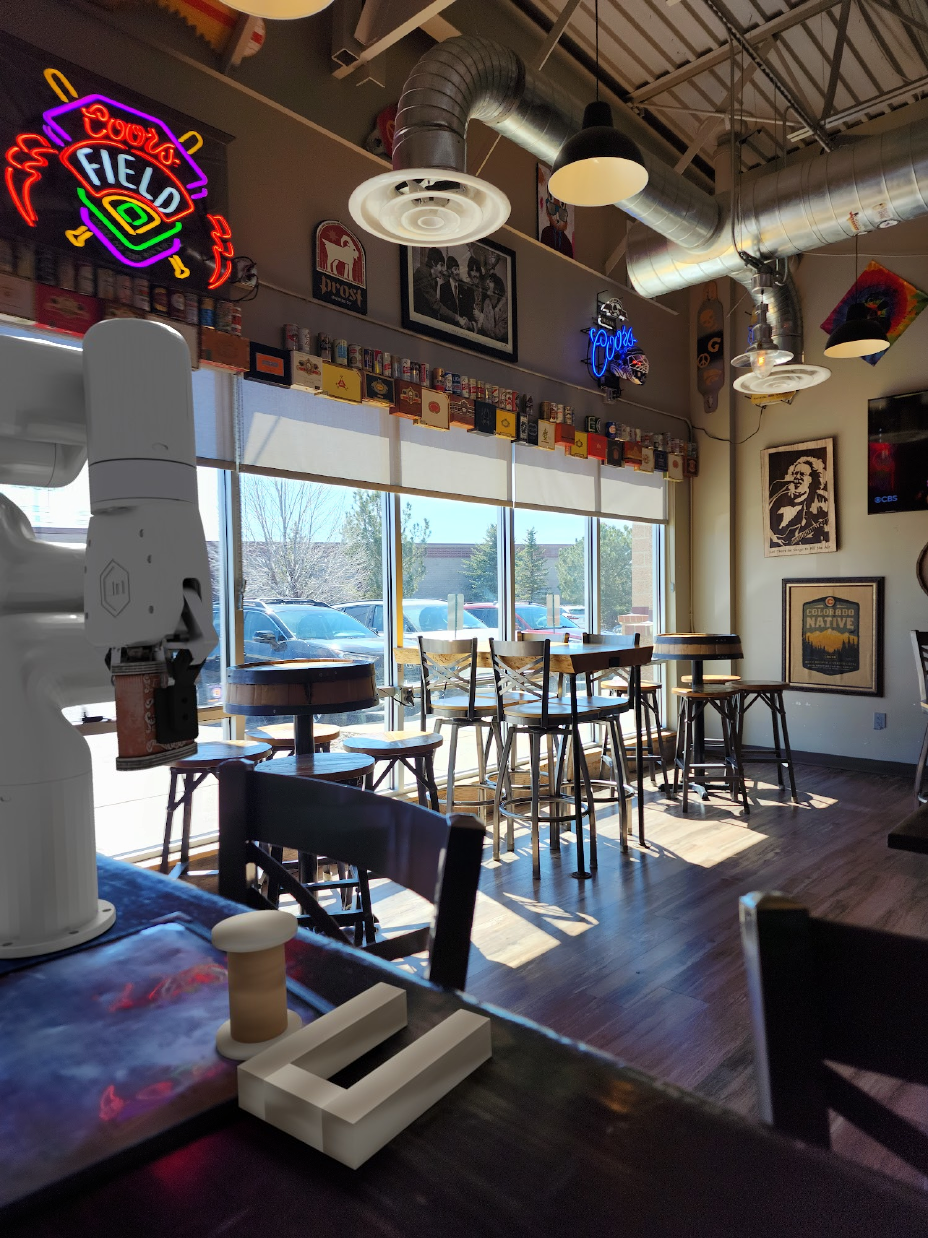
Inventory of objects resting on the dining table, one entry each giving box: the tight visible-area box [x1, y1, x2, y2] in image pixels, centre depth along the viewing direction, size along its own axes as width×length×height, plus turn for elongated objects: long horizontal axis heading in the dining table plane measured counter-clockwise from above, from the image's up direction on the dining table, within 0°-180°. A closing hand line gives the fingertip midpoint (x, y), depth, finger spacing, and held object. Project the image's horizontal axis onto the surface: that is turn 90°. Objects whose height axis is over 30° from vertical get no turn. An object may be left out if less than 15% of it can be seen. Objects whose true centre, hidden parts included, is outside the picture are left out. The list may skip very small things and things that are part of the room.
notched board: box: [236, 981, 493, 1171], centre depth 51 cm, size 10×13×2 cm
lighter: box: [111, 638, 199, 772], centre depth 58 cm, size 8×3×10 cm, turn 169°
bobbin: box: [210, 909, 303, 1061], centre depth 57 cm, size 6×6×8 cm
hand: (157, 737), depth 58 cm, fingers closed on lighter, 4 cm apart
